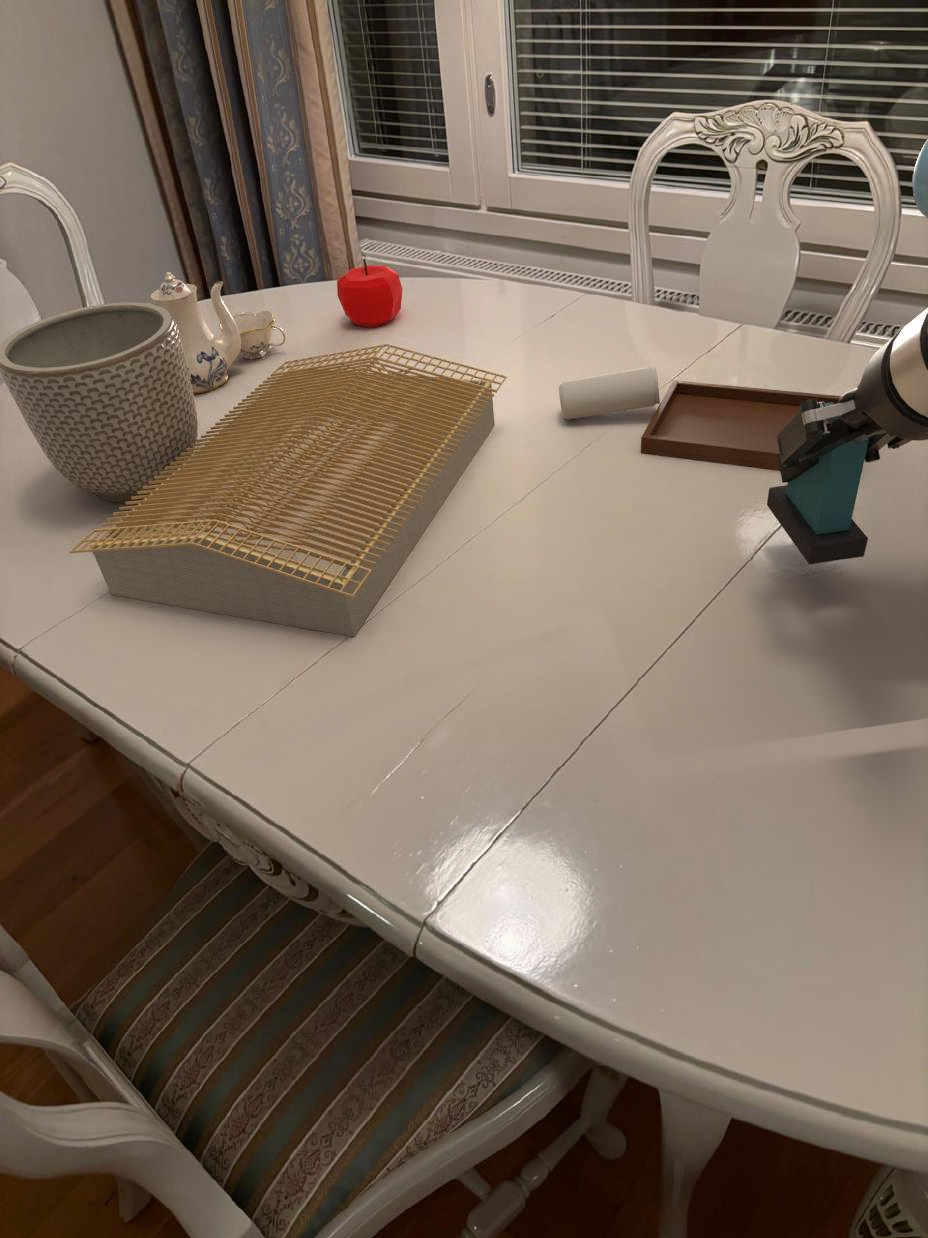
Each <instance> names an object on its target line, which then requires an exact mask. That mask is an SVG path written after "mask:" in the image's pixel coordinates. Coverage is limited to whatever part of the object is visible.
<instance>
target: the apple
mask: <svg viewBox="0 0 928 1238" xmlns="http://www.w3.org/2000/svg"><path fill="white" fill-rule="evenodd" d="M362 263H363V266H360V267H359V266H358V267H355V268H351V269H349V271H347V272H345V273H344V274H343V275H342V276H341V277H340V278H339V279H337V280H336V291H337V292H336V293H337V298H338V300H339V302H340V305H341V307H342V310H343V312H344V314H345V316H346V317H347V318H348V319H349V320H350V321H351V322H353V323H355V324H356V325H357V326H358V327H368V328H375V327H379V326H382V325H386V324H388V323H389V322H390V321H392V320H393V319H394V318H396V316H397V315H398V313H399V312H400V311H401V309H402V300H403V286H402V282H401V278H400V275H399V274H398V272H396V271H395V270H393V269H392V268H391V267H389V266H387V265H367V264H368V263H367V252H366V253H363V259H362Z"/></svg>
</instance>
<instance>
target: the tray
mask: <svg viewBox="0 0 928 1238" xmlns="http://www.w3.org/2000/svg"><path fill="white" fill-rule="evenodd" d="M841 396H842V395H833V394H824V393H814V392H813V393H811V392H802V391H792V390H781V389H769V388H759V387H749V386H748V387H747V386H738V385H727V384H717V383H708V382H707V383H705V382H695V381H686V380H675V379H672V381H671V383H670V385H669V387H668V388H667V390H666V392H665V393H664V396H663V398H662V399H661V401H660V404H658V407H657V409H656V410H655V412H654V413H653V415H652V417H651V419H650V421H649V422H648V425H647V426H646V428H645V430H644V432H643V434H642V436H641V437H640V443H641V444H640V453H641V454H647V455H648V454H649V455H655V456H656V455H657V456H664V457H672V458H680V459H687V460H694V461H703V462H711V463H719V464H728V465H734V466H743V467H752V468H760V469H767V470H768V469H769V470H773V471H780V467H779V462H778V457H777V454H779V448H778V442H777V437H776V436H777V435H778V434H779V433H780V432H781V431H782V430H783V428H784V427H785V426H786V425H787V424H788V423H789V422H790V421H791V420H792V419H793V418H794V417H795V416H796V415H797V414H798V413H799V407H800V403H802V402H804V401H805V400H808V399H816V400H817V403H818V402H825V403H831V402H832V403H834V404H838V402H839V399H840V397H841Z"/></svg>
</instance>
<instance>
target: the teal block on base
mask: <svg viewBox="0 0 928 1238" xmlns="http://www.w3.org/2000/svg"><path fill="white" fill-rule="evenodd" d="M830 405H834V403H832V402H831V403H825V407H826V406H830ZM800 411H801V408H800V407H799V412H800ZM868 441H869V439H868V438H867V439H865V440H863V441H860V442H851V443H845V444H843V445H841V446H839V447H837V448H836V449H834V450H832V451H830V452H828V453H826V454H824V455H822V456H821V457H819V458H818V461H819V463H818V464H816V465H815V466H813V467H812V468H810V469H809V470H807V471H806V472H804V473H803V474H801V475H800V476H798V477H797V478H795V479H794V480H792V481H791V482H786V483H787V484H785V485H777V486H771V487H768V493H767V501H766V506H767V508H768V509H769V510H770V512H771V514H773V516H774V518H775V519H776V520H777V522H778V523H779V524H780V526H781V527H782V529H783V530H784V531H785V533H786V534H787V536H788V537H789V538H790V540H791V541H792V543H793V544H794V546H795V547H796V549H797V550H798V552H799V553H800V554H801V555H802V557H803V558H804V560H805V561H806V563H807V564H808V565H815V564H823V563H829V562H837V561H842V560H849V559H855V558H857V559H858V558H862V557H864V556H865V554H866V549H867V544H868V540H869V537H868V536H867V535H866V534H865V533H864V532H863V530H862V529H861V528H860V526H858V524H857V523H856V522H855V520H854V519H853V514H854V510H855V505H856V501H857V496H858V493H859V487H860V484H861V483H860V482H861V478H862V474H863V468H864V464H865V455H866V451H867V446H868Z"/></svg>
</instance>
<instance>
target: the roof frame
mask: <svg viewBox="0 0 928 1238" xmlns="http://www.w3.org/2000/svg"><path fill="white" fill-rule="evenodd" d="M386 347H387V348H386ZM384 348H386V349H385V350H384V351H383V352H382V353H380V352H381V351H382V350H383V349H384ZM391 348H392V349H393V351H392V352H390V351H389V349H391ZM369 350H371V351H369ZM398 350H400V351H403V352H402V354H398V353H396V352H397V351H398ZM362 351H363V352H362ZM379 353H380V355H379V356H378V354H379ZM406 353H411V356H410V357H408V356H404V355H405V354H406ZM346 354H347V355H346ZM385 354H386V355H389V356H387V358H383V356H384V355H385ZM371 355H372V356H371ZM415 355H418V356H421V357H420V358H419V359H418V358H414V357H415ZM363 356H365V357H363ZM392 356H395V357H398V358H397V359H396V360H394V361H393V360H390V358H391V357H392ZM356 357H357V358H356ZM362 357H363V358H362ZM425 357H426V358H429V359H430V360H429V361H423V359H424V358H425ZM355 358H356V359H355ZM347 359H348V360H347ZM400 359H404V360H406V361H405V362H404V363H401V362H399V361H400ZM340 360H341V361H340ZM433 360H436V361H439V362H438V363H437V364H435V363H432V361H433ZM307 361H308V362H307ZM332 361H333V362H332ZM410 361H413V362H416V363H415V364H414V365H413V366H411V365H408V363H409V362H410ZM331 362H332V363H331ZM383 362H384V363H383ZM443 362H444V363H448V364H447V366H441V364H442V363H443ZM293 363H294V364H293ZM324 363H325V364H324ZM386 363H387V364H386ZM316 364H317V365H316ZM390 364H391V365H390ZM419 364H422V365H424V366H423V367H422V368H419V367H417V366H418V365H419ZM309 365H310V366H309ZM377 365H378V366H377ZM393 365H394V366H393ZM451 365H455V366H457V367H456V368H455V369H453V368H450V366H451ZM308 366H309V367H308ZM428 366H431V367H434V368H433V369H432V370H431V371H430V370H426V368H427V367H428ZM460 367H462V368H465V371H464V372H463V371H459V368H460ZM388 368H389V369H388ZM404 368H405V369H404ZM374 369H375V370H374ZM391 369H392V370H391ZM437 369H441V370H443V371H441V373H437V372H435V371H436V370H437ZM285 370H286V371H285ZM469 370H473V371H475V373H473V374H472V373H469V372H468V371H469ZM446 371H449V372H452V373H451V374H450V376H448V375H444V374H445V372H446ZM385 372H386V373H385ZM479 372H481V373H485V374H484V375H483V376H478V375H477V374H478V373H479ZM423 373H424V374H423ZM455 374H459V375H461V376H460V377H459V378H457V377H456V378H455V377H453V376H454V375H455ZM487 375H492V376H494V377H493V378H492V379H490V378H486V376H487ZM464 376H468V377H470V378H464ZM497 377H499V378H503V379H502V381H501V382H500V381H497V380H496V378H497ZM507 378H508V377H507V376H506V375H503V374H499V373H495V372H491V371H488V370H484V369H481V368H477V367H473V366H471V365H465V364H462V363H458V362H454V361H452V360H448V359H443V358H440V357H437V356H432V355H430V354H426V353H422V352H418V351H414V350H410V349H407V348H403V347H401V346H397V345H393V344H388V343H385V344H378V345H374V346H367V347H362V348H357V349H351V350H345V351H339V352H334V353H328V354H323V355H316V356H311V357H305V358H299V359H294V360H288V361H284V362H283V363H281V364H280V365H279V367H277V368H276V369H275V370H274V371H273V372H271V373H270V376H269V377H266V380H263V381H262V384H258V387H255V388H254V391H250V392H249V393H250V394H248V395H245V398H242V399H241V402H238V403H237V406H233V407H232V409H233V410H228V413H227V414H224V415H223V416H224V418H223V417H222V418H219V422H214V425H215V426H210V427H209V428H210V430H206V431H205V434H202V435H200V438H199V439H197V440H196V444H191V447H194V446H195V448H187V449H186V451H193V452H186V453H181V456H184V455H191V456H185V457H177V458H176V460H183V459H188V460H185V461H177V462H170V464H171V465H175V464H183V463H184V464H183V465H178V466H169V467H165V469H166V470H167V469H176V468H178V469H177V470H171V471H162V472H159V473H160V474H169V473H173V474H172V475H164V476H155V477H154V479H162V478H167V479H166V480H158V481H149V482H148V483H149V484H156V483H162V484H161V485H152V486H143V489H151V488H156V489H155V490H147V491H138V492H137V494H146V493H151V494H149V495H143V496H133V497H131V499H142V498H145V499H144V500H140V501H130V502H125V505H126V506H119V507H118V509H119V511H117V512H116V511H115V512H112V515H113V516H115V517H107V518H106V520H107V522H103V523H99V524H100V527H105V528H95V529H93V530H92V531H90V532H89V533H88V534H87V535H86V536H85V537H84V538H83V539H81V540H80V541H79V542H78V543H77V544H76V545H74V546H73V547H72V548H71V549H70V550H69V554H80V553H92V554H93V557H94V559H95V562H96V563H97V565H98V569H99V570H100V572H101V574H102V577H103V579H104V581H105V583H106V585H107V588H108V590H109V592H110V595H111V596H117V597H122V598H127V599H133V600H134V599H135V600H140V601H144V602H145V601H146V602H151V603H157V604H163V605H169V606H175V607H181V608H185V609H192V610H198V611H203V612H209V613H214V614H220V615H226V616H232V617H238V618H243V619H249V620H250V619H251V620H255V621H261V622H267V623H272V624H277V625H284V626H290V627H294V628H301V629H307V630H313V631H319V632H326V633H331V634H335V635H342V636H347V637H352V638H353V637H354V638H355V637H356V636H357V634H358V632H359V631H360V629H361V628H362V626H363V625H364V623H365V621H366V620H367V619H368V617H369V616H370V614H371V612H372V611H373V610H374V609H375V606H376V605H377V604H378V602H379V601H380V599H381V598H382V596H383V594H384V593H385V591H386V590H387V588H388V587H389V585H390V584H391V582H393V580H394V578H395V577H396V575H397V573H398V572H399V571H400V569H401V568H402V566H403V565H404V562H406V560H407V558H408V557H409V555H410V554H411V552H412V551H413V549H414V547H415V546H416V544H417V543H418V542H419V540H420V539H421V537H422V536H423V534H424V532H425V531H426V529H427V528H428V527H429V525H430V524H431V522H432V521H433V519H434V517H435V516H436V514H437V513H438V511H439V510H440V508H441V507H442V505H443V504H444V502H445V501H446V500H447V498H448V496H449V495H450V494H451V492H452V490H453V489H454V487H455V486H456V484H457V483H458V481H459V480H460V478H461V477H462V476H463V474H464V472H465V471H466V469H467V467H468V466H469V465H470V463H471V462H472V460H473V459H474V457H475V455H476V454H477V453H478V451H479V449H480V448H481V446H482V445H483V443H484V442H485V441H486V439H487V438H488V436H489V434H490V433H491V432H492V430H493V428H494V427H495V411H494V399H493V397H495V394H494V393H498V391H499V390H500V388H501V387H502V385H503V384H504V382H505V381H506V379H507ZM495 380H496V381H495ZM492 384H496V385H498V387H497V388H496V389H495V388H493V387H492ZM327 423H328V424H327ZM320 427H323V428H320ZM383 428H384V429H383ZM385 428H386V429H385ZM377 432H378V433H377ZM313 436H315V437H313ZM374 437H378V438H374ZM310 441H311V442H310ZM369 441H370V442H369ZM374 442H375V443H374ZM302 445H304V446H302ZM365 446H368V447H365ZM298 450H299V451H298ZM361 451H366V452H361ZM292 454H293V455H292ZM354 455H356V456H354ZM361 456H362V457H361ZM287 459H288V460H287ZM350 460H354V461H350ZM355 461H358V462H355ZM282 464H283V465H282ZM345 465H349V466H345ZM350 466H352V467H350ZM353 466H354V467H353ZM340 470H344V471H340ZM346 471H349V472H346ZM335 475H340V476H344V477H339V476H335ZM330 480H334V481H339V482H334V481H333V482H332V481H330ZM290 481H292V482H290ZM323 485H327V486H333V487H327V486H323ZM334 487H337V488H334ZM317 490H319V491H317ZM320 491H327V492H330V493H326V492H320ZM310 495H312V496H310ZM266 496H267V497H266ZM314 496H321V497H325V498H327V499H325V498H318V497H317V498H316V497H314ZM275 497H278V498H275ZM307 501H310V502H311V501H312V502H316V503H317V502H318V503H319V504H316V503H310V502H307ZM263 502H264V503H263ZM320 503H321V504H320ZM323 504H324V505H323ZM127 505H129V506H127ZM299 506H303V507H309V508H314V509H315V510H313V509H307V508H302V507H299ZM255 507H258V508H259V509H258V508H255ZM265 508H266V509H265ZM316 509H317V510H316ZM123 510H124V511H123ZM125 510H127V511H125ZM248 512H249V513H253V514H254V515H252V514H249V513H248ZM294 512H299V513H306V514H309V515H313V516H309V515H301V514H297V513H294ZM203 513H204V514H203ZM260 514H261V515H260ZM123 515H124V516H123ZM286 517H288V518H286ZM240 518H246V519H248V520H249V521H248V520H247V521H246V520H244V519H240ZM289 518H290V519H289ZM291 518H294V519H295V518H296V519H301V520H305V521H297V520H292V519H291ZM198 519H199V520H198ZM255 520H256V521H255ZM111 521H115V522H111ZM306 521H308V522H306ZM233 523H234V524H241V525H242V526H243V527H242V526H237V525H234V524H233ZM280 523H284V524H292V525H295V526H299V527H302V528H299V527H293V526H287V525H284V524H280ZM112 526H113V527H112ZM193 526H196V527H193ZM249 526H250V527H249ZM106 527H107V528H106ZM209 527H210V528H209ZM217 528H221V530H216V529H217ZM271 528H272V529H271ZM228 529H229V530H235V531H236V532H230V531H229V530H228ZM275 529H279V530H286V531H290V532H293V533H288V532H287V533H285V532H282V531H278V530H275ZM95 533H96V534H95ZM103 533H104V534H103ZM294 533H295V534H294ZM94 534H95V535H94ZM101 534H103V535H101ZM215 534H217V535H215ZM93 535H94V536H93ZM223 535H224V536H230V538H227V537H224V536H223ZM268 535H275V536H281V537H285V538H287V539H290V540H287V539H280V538H275V537H272V536H268ZM92 536H93V537H92ZM99 536H100V537H99ZM90 537H92V538H90ZM98 537H99V538H98ZM236 537H238V538H241V539H238V538H236ZM89 538H90V539H89ZM254 540H258V541H256V542H251V541H254ZM262 541H268V542H271V543H270V544H265V543H261V542H262ZM340 542H341V543H340ZM275 543H277V544H280V545H283V546H278V545H274V544H275ZM83 544H84V545H83ZM81 545H82V546H81ZM324 545H326V546H324ZM80 546H81V547H80ZM88 546H89V547H88ZM328 546H329V547H328ZM79 547H80V548H79ZM87 547H88V548H87ZM257 547H258V548H257ZM259 547H260V548H266V549H265V550H263V549H259ZM305 547H307V548H305ZM331 547H332V548H331ZM78 548H79V549H78ZM86 548H87V549H86ZM309 548H310V549H309ZM359 548H360V549H359ZM270 549H273V550H278V553H273V552H270ZM312 549H313V550H312ZM337 549H338V550H337ZM315 550H316V551H315ZM340 550H341V551H340ZM283 551H286V552H287V551H288V552H292V554H291V555H290V556H289V557H288V558H286V557H284V556H280V555H281V554H282V553H283ZM344 551H345V552H344ZM297 553H300V554H304V555H305V556H304V557H303V559H302V560H301V561H298V560H295V559H292V558H293V557H294V556H295V555H296V554H297ZM324 553H325V554H324ZM350 553H351V554H350ZM328 554H329V555H328ZM309 556H310V557H313V558H316V559H317V560H316V561H315V563H314V564H313V565H312V566H311V565H308V564H304V562H305V561H306V560H307V559H308V558H309ZM334 556H335V557H334ZM337 557H338V558H337ZM343 559H344V560H343ZM321 560H322V561H325V562H327V563H329V564H328V565H327V566H326V568H325V569H323V568H320V567H316V566H317V565H318V564H319V562H320V561H321ZM346 560H347V561H346ZM349 561H350V562H349ZM333 564H334V565H336V566H337V565H338V566H341V568H340V569H339V571H338V572H337V573H336V574H335V573H332V572H330V571H328V570H329V569H330V567H331V566H332V565H333Z"/></svg>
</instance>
